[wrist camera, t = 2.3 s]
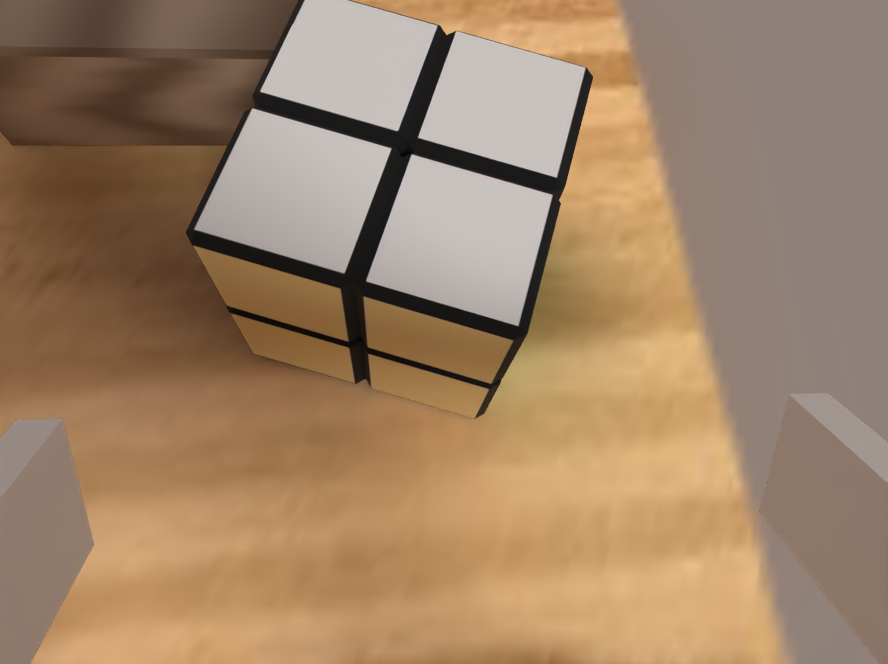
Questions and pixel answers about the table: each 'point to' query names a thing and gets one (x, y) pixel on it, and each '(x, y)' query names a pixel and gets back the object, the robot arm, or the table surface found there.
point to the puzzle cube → (392, 201)
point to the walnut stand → (132, 69)
